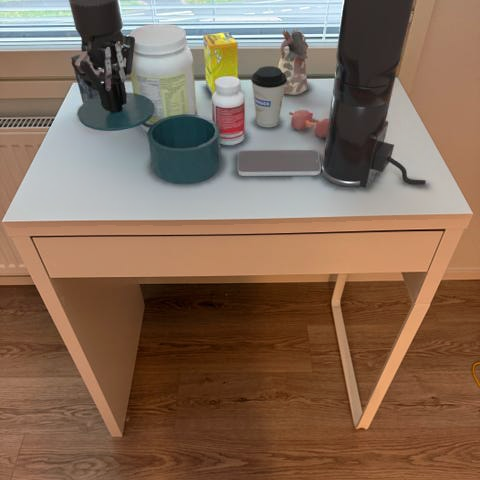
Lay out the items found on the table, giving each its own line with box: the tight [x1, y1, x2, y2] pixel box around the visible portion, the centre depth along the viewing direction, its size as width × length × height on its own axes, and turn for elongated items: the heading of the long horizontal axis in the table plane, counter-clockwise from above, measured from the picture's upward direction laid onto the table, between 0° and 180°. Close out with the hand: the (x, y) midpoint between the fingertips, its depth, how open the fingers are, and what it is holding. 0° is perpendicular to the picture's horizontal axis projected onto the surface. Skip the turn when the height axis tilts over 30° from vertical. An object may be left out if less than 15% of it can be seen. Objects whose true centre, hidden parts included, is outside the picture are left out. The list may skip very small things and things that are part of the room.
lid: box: [77, 78, 154, 132], centre depth 87 cm, size 14×14×6 cm
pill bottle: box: [211, 76, 246, 146], centre depth 93 cm, size 6×6×11 cm
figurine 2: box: [288, 109, 329, 138], centre depth 98 cm, size 12×3×7 cm
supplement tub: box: [128, 23, 198, 132], centre depth 95 cm, size 12×12×17 cm
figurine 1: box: [277, 28, 309, 96], centre depth 107 cm, size 7×7×12 cm
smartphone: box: [237, 149, 322, 177], centre depth 90 cm, size 7×1×15 cm
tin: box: [146, 114, 222, 185], centre depth 89 cm, size 13×13×6 cm
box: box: [70, 54, 111, 104], centre depth 101 cm, size 8×6×11 cm
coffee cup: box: [250, 65, 287, 128], centre depth 97 cm, size 7×7×10 cm
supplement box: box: [202, 31, 239, 96], centre depth 107 cm, size 6×6×11 cm
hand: (115, 106), depth 88 cm, fingers closed on lid, 2 cm apart
